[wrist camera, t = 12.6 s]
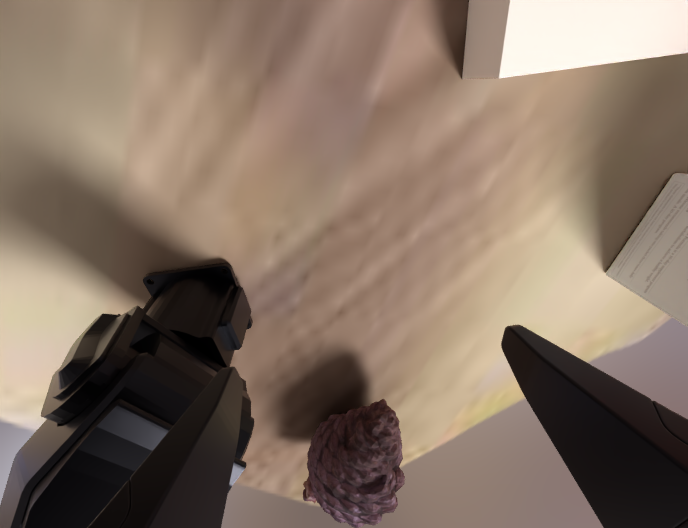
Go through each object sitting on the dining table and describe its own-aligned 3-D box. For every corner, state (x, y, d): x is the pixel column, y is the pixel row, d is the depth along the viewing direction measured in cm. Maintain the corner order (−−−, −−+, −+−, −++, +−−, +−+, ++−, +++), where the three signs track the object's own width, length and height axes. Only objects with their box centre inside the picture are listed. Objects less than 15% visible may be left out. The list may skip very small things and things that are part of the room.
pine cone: (338, 356, 29) (348, 470, 20) (424, 373, 31) (465, 481, 23) (288, 449, 37) (281, 557, 28) (360, 456, 40) (373, 558, 31)
